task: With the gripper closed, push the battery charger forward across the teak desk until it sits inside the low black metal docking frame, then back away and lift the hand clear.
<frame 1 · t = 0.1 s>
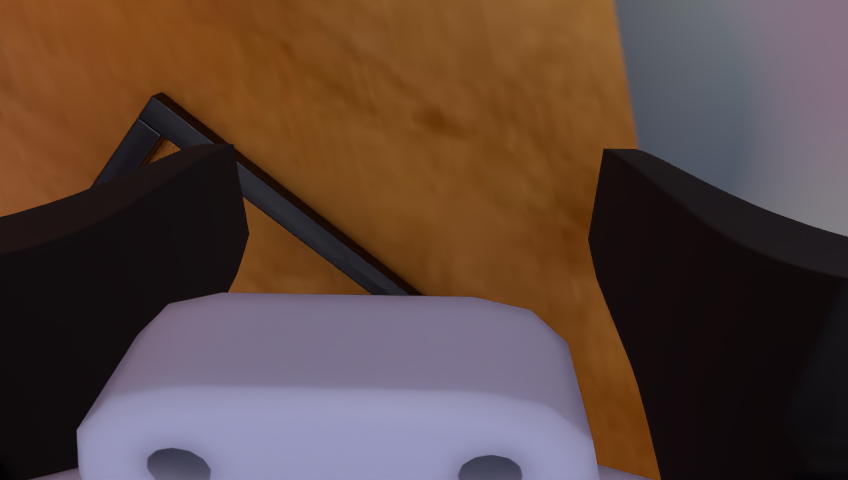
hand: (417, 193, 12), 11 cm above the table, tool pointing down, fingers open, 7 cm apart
dock: (283, 326, 25), on the table
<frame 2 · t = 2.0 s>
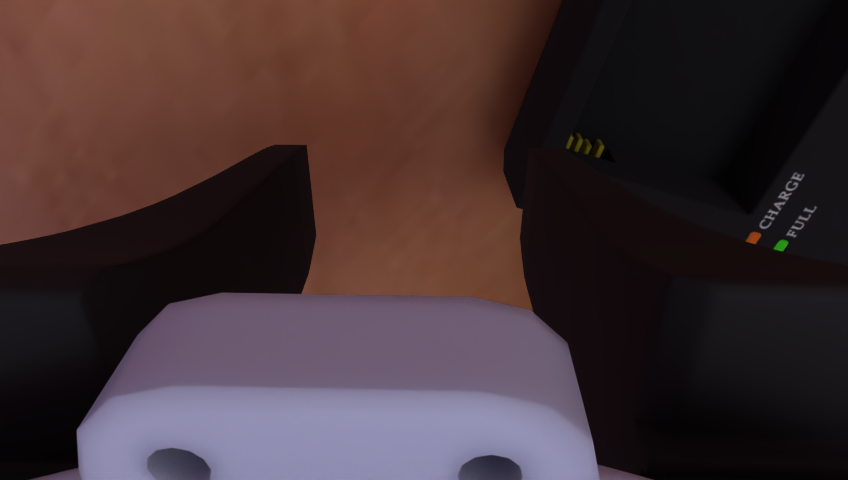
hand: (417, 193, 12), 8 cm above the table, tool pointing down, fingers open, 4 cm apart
battery charger: (744, 70, 19), on the table
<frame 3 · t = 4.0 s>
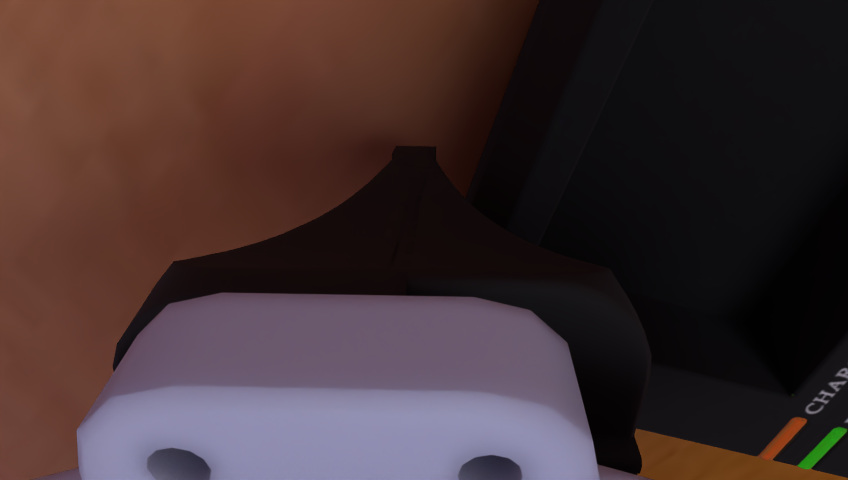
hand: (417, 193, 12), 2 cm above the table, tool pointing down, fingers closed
battery charger: (778, 162, 13), on the table, touching gripper
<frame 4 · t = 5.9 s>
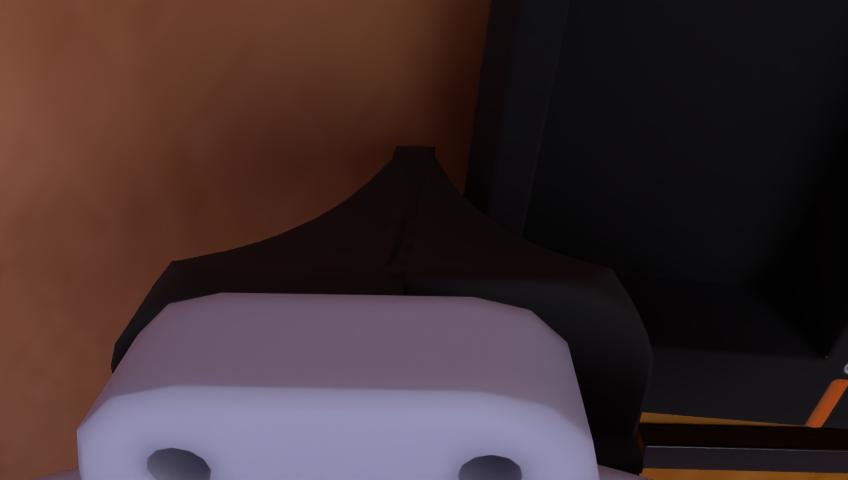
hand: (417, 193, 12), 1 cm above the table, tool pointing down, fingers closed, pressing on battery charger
battery charger: (779, 114, 13), on the table, touching dock, gripper
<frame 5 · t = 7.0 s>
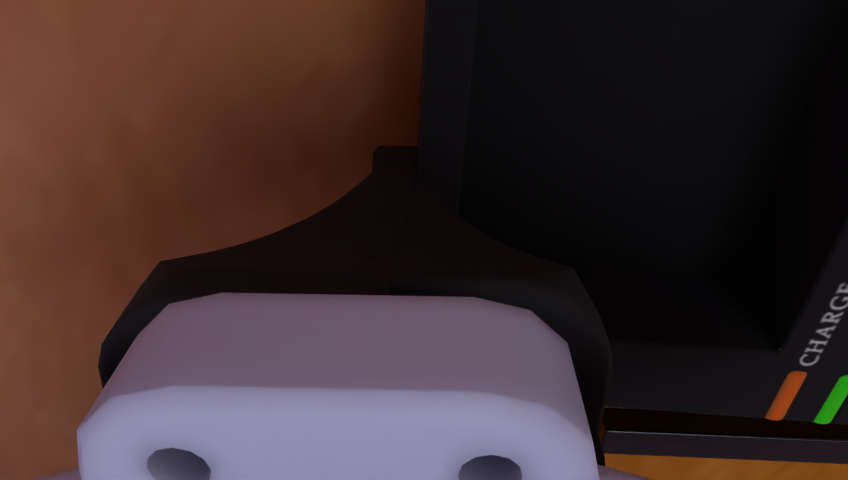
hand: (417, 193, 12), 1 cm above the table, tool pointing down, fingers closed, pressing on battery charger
battery charger: (742, 100, 12), on the table, touching dock, gripper
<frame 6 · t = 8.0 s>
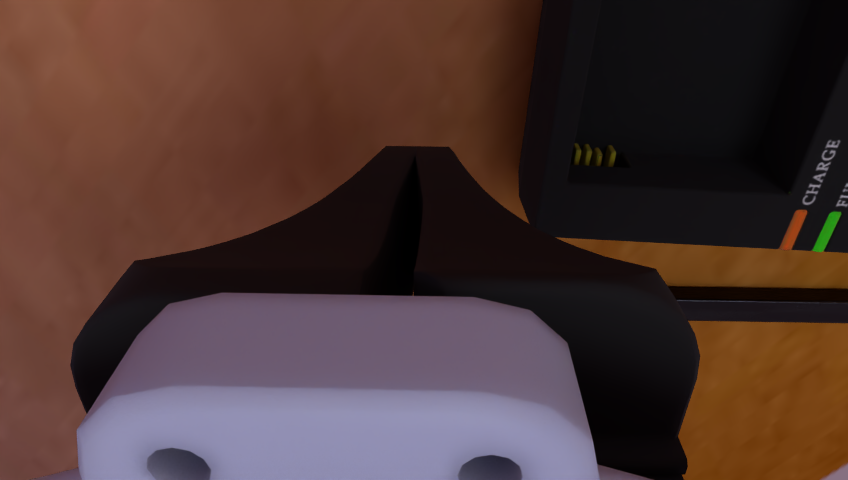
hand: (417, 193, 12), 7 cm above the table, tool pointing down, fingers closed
battery charger: (756, 35, 18), on the table
dock: (839, 69, 18), on the table
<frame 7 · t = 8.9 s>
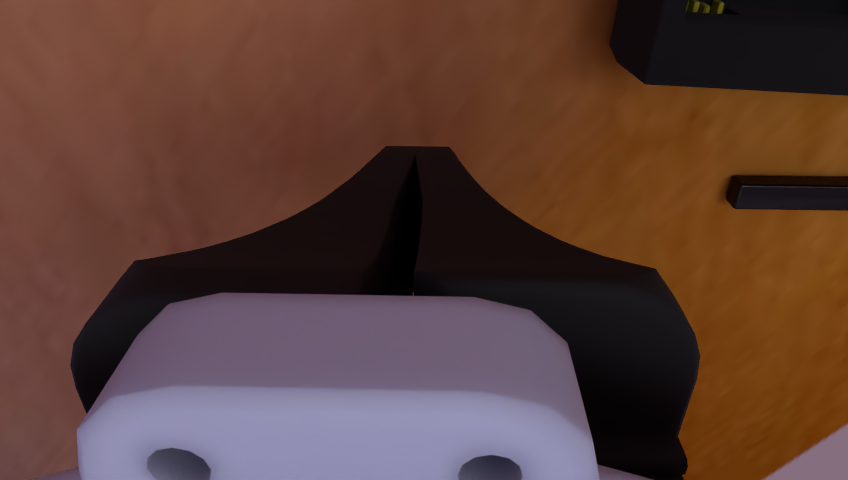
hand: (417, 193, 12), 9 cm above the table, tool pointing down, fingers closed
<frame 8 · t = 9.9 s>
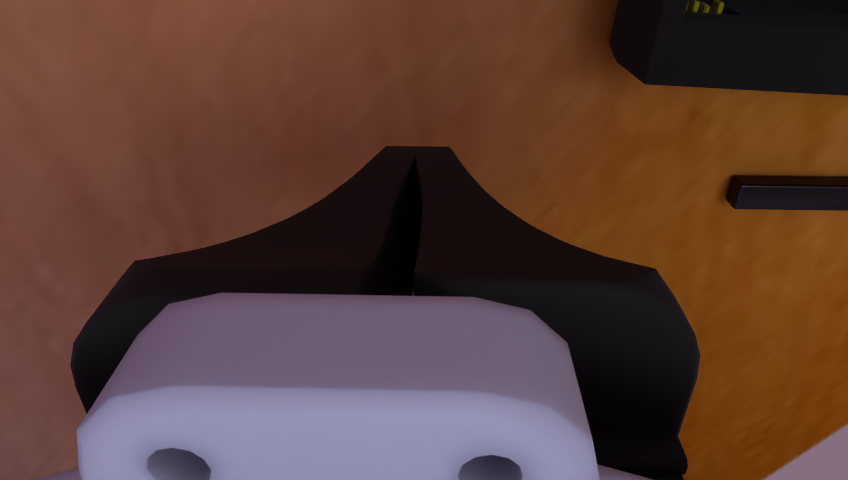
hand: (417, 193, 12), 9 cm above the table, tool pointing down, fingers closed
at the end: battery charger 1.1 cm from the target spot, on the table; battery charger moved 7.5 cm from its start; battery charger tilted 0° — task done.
